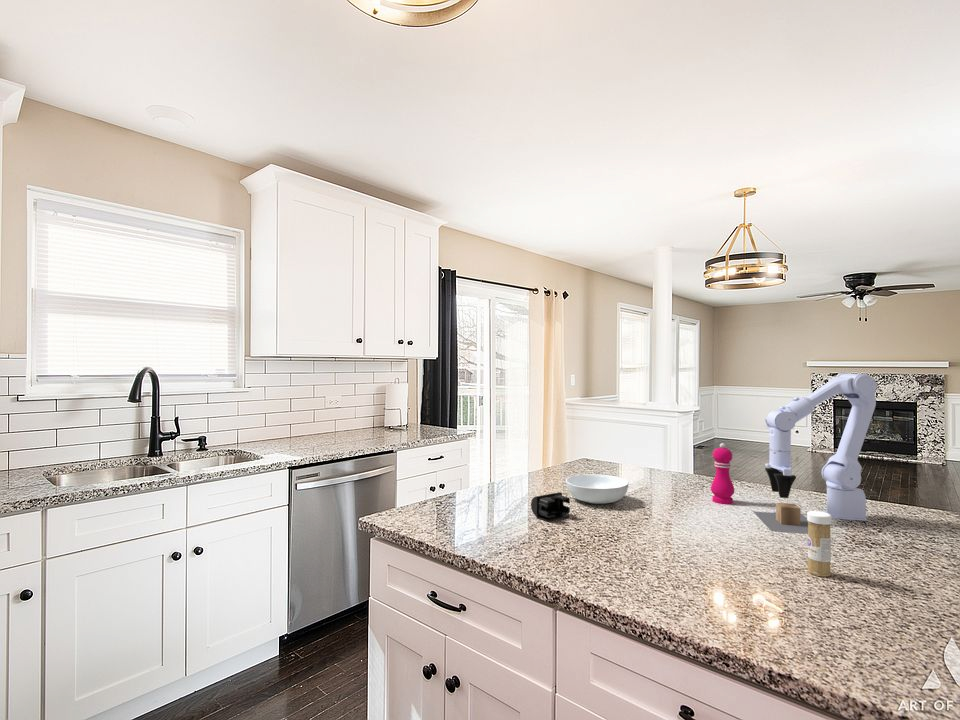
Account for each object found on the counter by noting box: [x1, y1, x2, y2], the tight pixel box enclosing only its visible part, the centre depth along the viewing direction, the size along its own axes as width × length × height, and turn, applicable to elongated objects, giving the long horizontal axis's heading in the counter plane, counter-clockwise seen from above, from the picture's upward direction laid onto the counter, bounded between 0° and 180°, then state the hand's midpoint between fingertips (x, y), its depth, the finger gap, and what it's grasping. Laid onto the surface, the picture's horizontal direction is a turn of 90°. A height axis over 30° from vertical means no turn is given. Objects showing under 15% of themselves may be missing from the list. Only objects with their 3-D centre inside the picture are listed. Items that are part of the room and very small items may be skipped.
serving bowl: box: [565, 473, 630, 505], centre depth 179 cm, size 21×21×7 cm
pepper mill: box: [710, 442, 735, 505], centre depth 177 cm, size 7×7×20 cm
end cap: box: [530, 491, 571, 523], centre depth 160 cm, size 10×7×7 cm
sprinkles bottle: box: [806, 510, 832, 578], centre depth 117 cm, size 5×5×14 cm
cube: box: [775, 502, 801, 526], centre depth 154 cm, size 5×5×5 cm
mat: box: [752, 511, 808, 535], centre depth 154 cm, size 14×20×1 cm
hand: (780, 494), depth 161 cm, fingers open, 7 cm apart
